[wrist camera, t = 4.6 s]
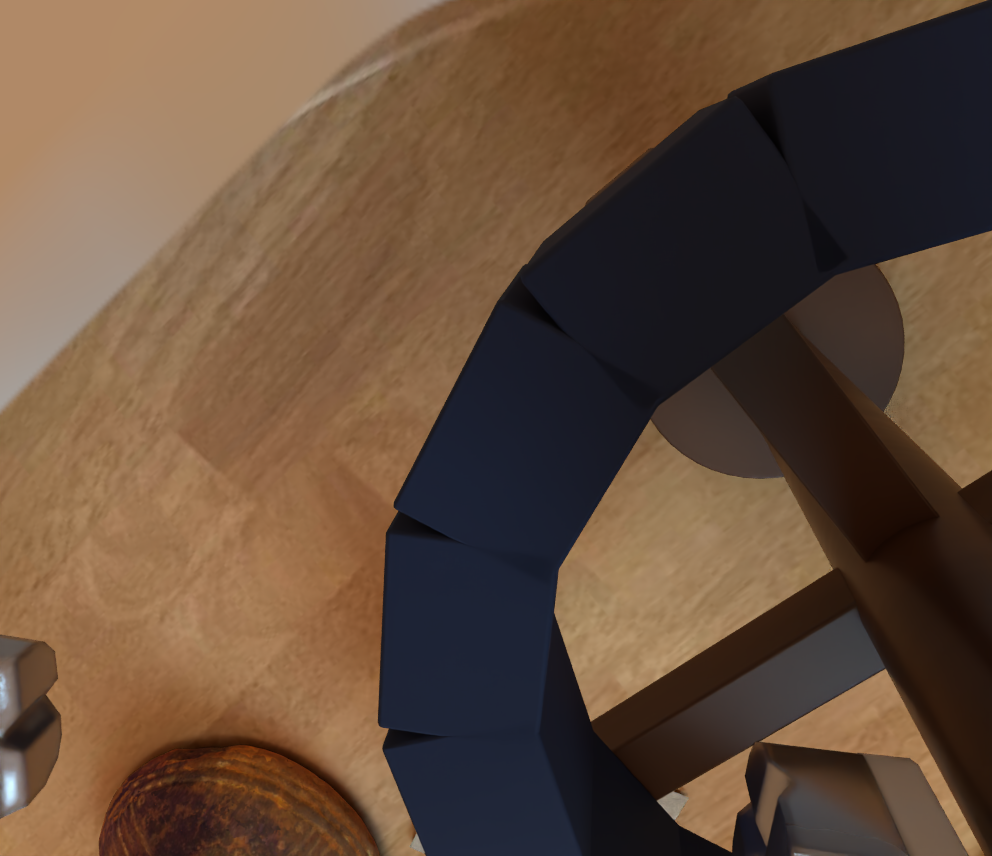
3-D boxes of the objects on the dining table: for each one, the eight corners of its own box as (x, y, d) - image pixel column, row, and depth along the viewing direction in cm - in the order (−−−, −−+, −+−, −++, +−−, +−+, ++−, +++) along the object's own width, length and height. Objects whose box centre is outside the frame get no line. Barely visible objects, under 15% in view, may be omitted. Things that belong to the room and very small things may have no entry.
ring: (462, -21, 11) (410, -81, 8) (1828, 70, 9) (2345, 37, 7) (405, 913, 16) (361, 1082, 13) (1313, 1064, 14) (1489, 1293, 11)
